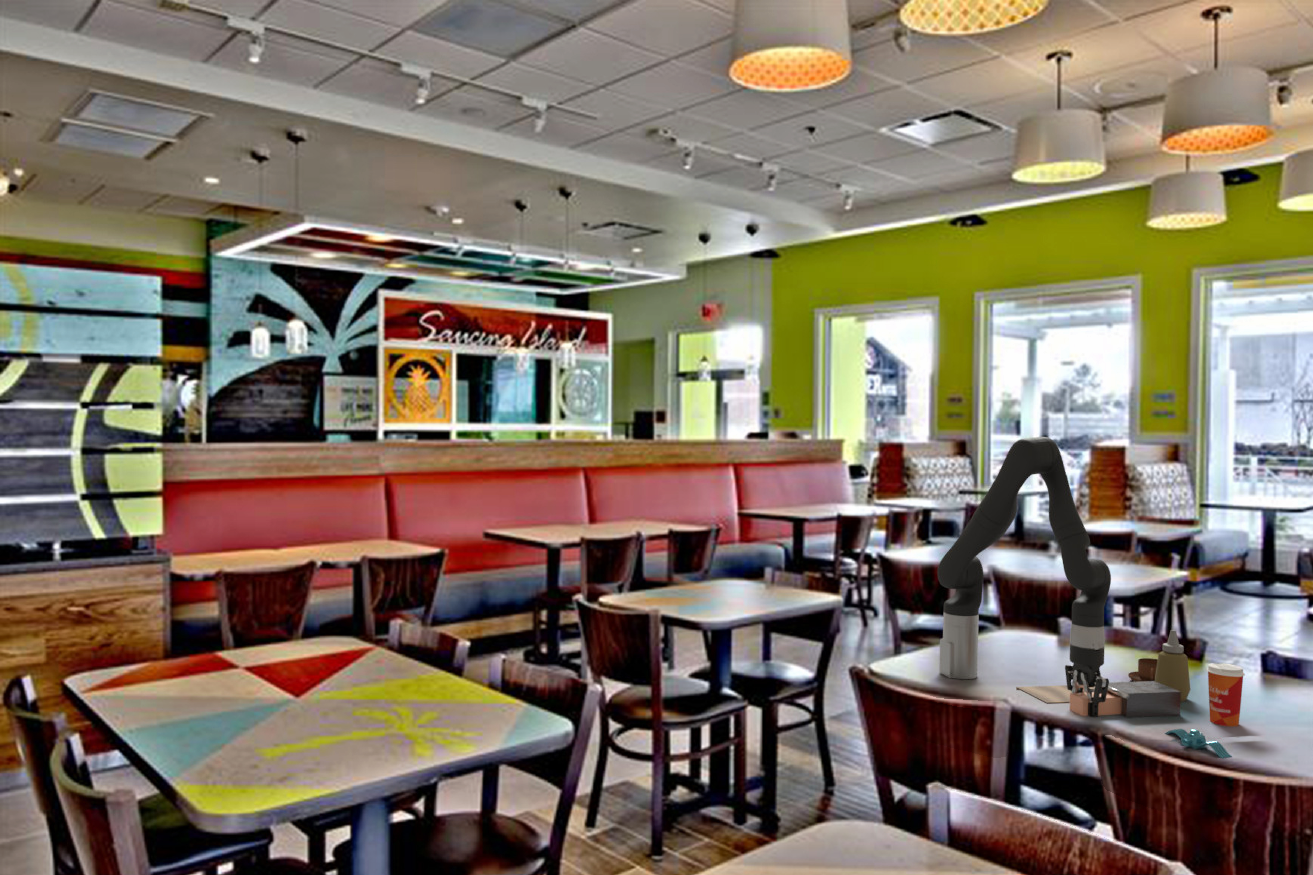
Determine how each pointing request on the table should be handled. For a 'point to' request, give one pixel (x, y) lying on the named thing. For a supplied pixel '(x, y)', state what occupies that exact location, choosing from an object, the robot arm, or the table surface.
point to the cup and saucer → (1144, 670)
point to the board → (1049, 693)
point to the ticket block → (1104, 708)
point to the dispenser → (1146, 699)
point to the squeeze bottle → (1173, 666)
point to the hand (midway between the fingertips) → (1085, 714)
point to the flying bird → (1199, 741)
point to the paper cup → (1225, 693)
